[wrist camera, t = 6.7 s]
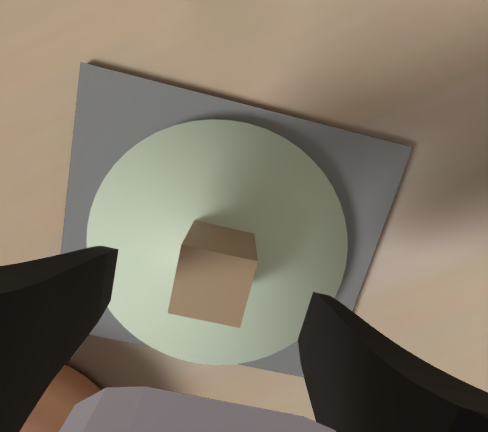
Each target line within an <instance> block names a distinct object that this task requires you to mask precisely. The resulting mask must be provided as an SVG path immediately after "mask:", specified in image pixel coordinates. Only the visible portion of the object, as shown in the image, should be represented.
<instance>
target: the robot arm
mask: <svg viewBox="0 0 488 432" xmlns="http://www.w3.org/2000/svg"><path fill="white" fill-rule="evenodd" d="M118 250H119V249H114V248H110V247H105V246H94V247H89V248H85V249H80V250H76V251H72V252H68V253H64V254H60V255H56V256H52V257H47V258H42V259H38V260H33V261H28V262H23V263H18V264H12V265H5V266H0V432H20V430H21V428H22V427H23V425H24V423H25V422H26V420H27V419H28V417H29V415H30V414H31V412H32V411H33V409H34V408H35V406H36V405H37V403H38V401H39V400H40V398H41V397H42V395H43V394H44V392H45V391H46V389H47V388H48V386H49V385H50V383H51V382H52V381H53V379H54V378H55V377H56V375H57V374H58V373H59V371H60V370H61V369H62V368H63V366H64V365H65V364H66V363H67V361H68V360H69V359H70V358H71V356H72V355H73V354H74V353H75V351H76V350H77V349H78V348H79V346H80V345H81V344H82V343H83V341H84V340H85V339H86V337H87V336H88V335H89V334H90V332H91V331H92V330H93V328H94V327H95V326H96V325H97V323H98V322H99V320H100V318H101V317H102V315H103V313H104V312H105V310H106V308H107V306H108V304H109V303H110V301H111V296H112V289H113V283H114V276H115V270H116V263H117V257H118ZM298 346H299V355H300V362H301V367H302V371H303V375H304V379H305V383H306V386H307V390H308V394H309V397H310V401H311V405H312V408H313V412H314V416H315V419H316V422H315V421H313V420H311V419H308V418H306V417H304V416H299V415H293V414H288V413H283V412H278V411H272V410H267V409H262V408H256V407H251V406H246V405H241V404H235V403H230V402H225V401H220V400H214V399H209V398H204V397H199V396H193V395H188V394H183V393H177V392H172V391H167V390H162V389H156V388H151V387H146V386H142V387H107V388H104V389H103V390H101V391H99V392H97V393H95V394H94V395H92V396H90V397H88V398H86V399H84V400H83V401H81V402H79V403H77V404H75V406H74V408H73V409H72V411H71V412H70V414H69V416H68V417H67V419H66V421H65V422H64V424H63V426H62V427H61V429H60V430H59V432H488V393H487V392H485V391H483V390H481V389H478V388H476V387H474V386H472V385H470V384H468V383H465V382H463V381H461V380H459V379H457V378H455V377H453V376H451V375H449V374H447V373H445V372H444V371H442V370H440V369H438V368H436V367H434V366H432V365H430V364H429V363H427V362H425V361H423V360H422V359H420V358H418V357H417V356H415V355H413V354H412V353H410V352H408V351H407V350H405V349H403V348H402V347H400V346H399V345H397V344H396V343H394V342H393V341H391V340H390V339H389V338H387V337H386V336H384V335H383V334H381V333H380V332H379V331H377V330H376V329H375V328H373V327H372V326H371V325H369V324H368V323H367V322H365V321H364V320H363V319H361V318H360V317H359V316H357V315H356V314H355V313H354V312H352V311H351V310H350V309H348V308H347V307H346V306H345V305H343V304H342V303H340V302H339V301H338V300H336V299H335V298H333V297H331V296H329V295H325V294H321V293H316V292H313V294H312V297H311V300H310V303H309V306H308V309H307V312H306V315H305V319H304V322H303V325H302V328H301V331H300V334H299V337H298Z"/></svg>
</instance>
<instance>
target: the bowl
mask: <svg viewBox="0 0 488 432" xmlns="http://www.w3.org/2000/svg"><path fill="white" fill-rule="evenodd" d="M99 391H101V390H100V389H99V388H98V387H97V386H96V385H95V384H94V383H93V382H91V381H90V380H89V379H88V378H86V377H85V376H84V375H82V374H81V373H79V372H77V371H76V370H74V369H73V368H71V367H69V366H66V365H64V366H63V368H62V369H61V370H60V371H59V373H58V374H57V375H56V377H55V378H54V379H53V381H52V382H51V383H50V385H49V386H48V388H47V389H46V391H45V392H44V394H43V395H42V397H41V398H40V400H39V401H38V403H37V405H36V406H35V408H34V409H33V411H32V412H31V414H30V415H29V417H28V419H27V420H26V422H25V423H24V425H23V427H22V428H21V430H20V432H59V430H60V429H61V427H62V426H63V424H64V422H65V421H66V419H67V417H68V416H69V414H70V412H71V411H72V409H73V408H74V406H75V404H77V403H79V402H81V401H83V400H84V399H86V398H88V397H90V396H92V395H94V394H95V393H97V392H99Z"/></svg>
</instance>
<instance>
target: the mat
mask: <svg viewBox="0 0 488 432" xmlns="http://www.w3.org/2000/svg"><path fill="white" fill-rule="evenodd" d="M209 119H216V120H232V121H238V122H244V123H249V124H252V125H255V126H258V127H261V128H264V129H267V130H269V131H271V132H273V133H276V134H278V135H280V136H282V137H284V138H285V139H287V140H288V141H290V142H291V143H293V144H294V145H296V146H297V147H299V148H300V149H301V150H302V151H303V152H304V153H306V154H307V155H308V156H309V157H310V158H311V159H312V160H313V161H314V162H315V163H316V164H317V166H318V167H319V168H320V169H321V170H322V171H323V173H324V174H325V176H326V177H327V179H328V180H329V182H330V183H331V185H332V186H333V188H334V190H335V193H336V195H337V197H338V199H339V201H340V204H341V207H342V210H343V214H344V217H345V222H346V229H347V238H348V252H347V260H346V267H345V271H344V275H343V278H342V282H341V284H340V287H339V289H338V292H337V294H336V296H335V299H336V300H338V301H339V302H340V303H342V304H343V305H345V306H346V307H347V308H348V309H350V310H351V311H353V308H354V306H355V303H356V300H357V298H358V295H359V292H360V289H361V287H362V284H363V281H364V279H365V276H366V273H367V270H368V268H369V265H370V262H371V259H372V257H373V254H374V251H375V249H376V246H377V243H378V240H379V238H380V235H381V232H382V230H383V227H384V224H385V221H386V219H387V216H388V213H389V211H390V208H391V205H392V202H393V200H394V197H395V194H396V191H397V189H398V186H399V183H400V181H401V178H402V175H403V172H404V170H405V167H406V164H407V162H408V159H409V156H410V153H411V151H412V148H413V147H409V146H405V145H402V144H398V143H394V142H390V141H386V140H382V139H378V138H374V137H370V136H366V135H363V134H359V133H355V132H351V131H347V130H343V129H339V128H335V127H331V126H328V125H324V124H320V123H316V122H312V121H308V120H304V119H300V118H296V117H292V116H289V115H285V114H281V113H277V112H273V111H269V110H265V109H261V108H257V107H254V106H250V105H246V104H242V103H238V102H234V101H230V100H226V99H222V98H219V97H215V96H211V95H207V94H203V93H199V92H195V91H191V90H187V89H183V88H180V87H176V86H172V85H168V84H164V83H160V82H156V81H152V80H148V79H145V78H141V77H137V76H133V75H129V74H125V73H121V72H117V71H113V70H109V69H106V68H102V67H98V66H94V65H90V64H86V63H82V62H80V72H79V82H78V91H77V101H76V111H75V120H74V130H73V140H72V150H71V159H70V169H69V179H68V188H67V198H66V208H65V217H64V227H63V237H62V246H61V254H64V253H68V252H72V251H76V250H80V249H85V248H87V244H86V241H87V225H88V220H89V215H90V210H91V207H92V204H93V201H94V198H95V195H96V193H97V191H98V189H99V187H100V185H101V183H102V182H103V180H104V178H105V177H106V175H107V174H108V173H109V171H110V170H111V168H112V167H113V166H114V164H115V163H116V162H117V161H118V160H119V159H120V158H121V157H122V156H123V155H124V154H125V153H126V152H127V151H129V150H130V149H131V148H133V147H134V146H135V145H136V144H138V143H139V142H140V141H142V140H144V139H146V138H147V137H149V136H151V135H153V134H154V133H156V132H158V131H161V130H164V129H166V128H169V127H171V126H174V125H178V124H182V123H186V122H191V121H198V120H209ZM89 335H92V336H97V337H102V338H107V339H112V340H117V341H122V342H127V343H132V344H137V345H142V346H148V345H147V344H145V343H144V342H142V341H141V340H139V339H138V338H136V337H135V336H134V335H133V334H132V333H130V332H129V331H128V330H127V329H126V328H124V326H123V325H122V324H121V323H120V322H119V321H118V320H117V319H116V318H115V317H114V315H113V314H112V313H111V311H110V310H109V308H108V307H107V308H106V310H105V312H104V313H103V315H102V317H101V318H100V320H99V322H98V323H97V325H96V326H95V327H94V328H93V330H92V331H91V332H90V334H89ZM148 347H150V346H148ZM239 365H244V366H249V367H254V368H259V369H264V370H269V371H274V372H280V373H285V374H290V375H295V376H300V377H304V375H303V371H302V367H301V362H300V355H299V346H298V340H297V341H296V342H295V343H293V344H291V345H290V346H288V347H286V348H285V349H283V350H281V351H279V352H276V353H274V354H272V355H270V356H267V357H264V358H261V359H258V360H255V361H250V362H245V363H241V364H239Z"/></svg>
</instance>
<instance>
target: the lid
mask: <svg viewBox="0 0 488 432" xmlns="http://www.w3.org/2000/svg"><path fill="white" fill-rule="evenodd" d="M86 244H87V248H89V247H94V246H105V247H110V248H114V249H119V250H118V257H117V263H116V270H115V276H114V283H113V289H112V296H111V301H110V303H109V304H108V306H107V307H108V308H109V310H110V311H111V313H112V314H113V315H114V317H115V318H116V319H117V320H118V321H119V322H120V323H121V324H122V325H123V326H124V328H126V329H127V330H128V331H129V332H130V333H132V334H133V335H134V336H135V337H136V338H138V339H139V340H141V341H142V342H144V343H145V344H147V345H148V346H150V347H152V348H154V349H156V350H158V351H160V352H161V353H164V354H166V355H169V356H171V357H174V358H177V359H180V360H184V361H188V362H192V363H199V364H206V365H231V364H241V363H245V362H250V361H255V360H258V359H261V358H264V357H267V356H270V355H272V354H274V353H276V352H279V351H281V350H283V349H285V348H286V347H288V346H290V345H291V344H293V343H295V342H296V341H297V340H298V337H299V334H300V331H301V328H302V325H303V322H304V319H305V315H306V312H307V309H308V306H309V303H310V300H311V297H312V294H313V292H316V293H321V294H325V295H329V296H331V297H333V298H335V296H336V294H337V292H338V289H339V287H340V284H341V282H342V278H343V275H344V271H345V267H346V260H347V252H348V238H347V229H346V222H345V217H344V214H343V210H342V207H341V204H340V201H339V199H338V197H337V195H336V193H335V190H334V188H333V186H332V185H331V183H330V182H329V180H328V179H327V177H326V176H325V174H324V173H323V171H322V170H321V169H320V168H319V167H318V166H317V164H316V163H315V162H314V161H313V160H312V159H311V158H310V157H309V156H308V155H307V154H306V153H304V152H303V151H302V150H301V149H300V148H299V147H297V146H296V145H294V144H293V143H291V142H290V141H288V140H287V139H285V138H284V137H282V136H280V135H278V134H276V133H273V132H271V131H269V130H267V129H264V128H261V127H258V126H255V125H252V124H249V123H244V122H238V121H232V120H216V119H209V120H198V121H191V122H186V123H182V124H178V125H174V126H171V127H169V128H166V129H164V130H161V131H158V132H156V133H154V134H153V135H151V136H149V137H147V138H146V139H144V140H142V141H140V142H139V143H138V144H136V145H135V146H134V147H133V148H131V149H130V150H129V151H127V152H126V153H125V154H124V155H123V156H122V157H121V158H120V159H119V160H118V161H117V162H116V163H115V164H114V166H113V167H112V168H111V170H110V171H109V173H108V174H107V175H106V177H105V178H104V180H103V182H102V183H101V185H100V187H99V189H98V191H97V193H96V195H95V198H94V201H93V204H92V207H91V210H90V215H89V220H88V225H87V241H86Z"/></svg>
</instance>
